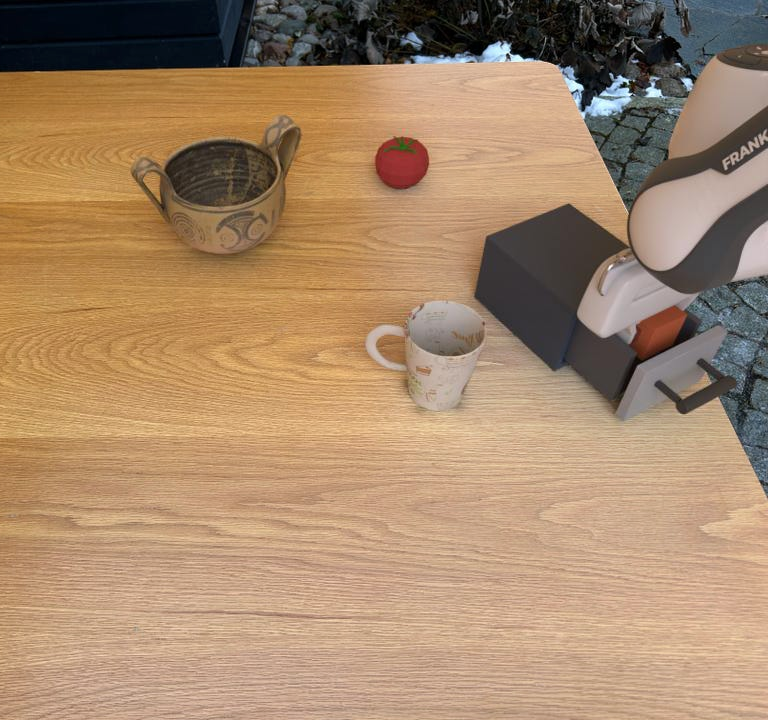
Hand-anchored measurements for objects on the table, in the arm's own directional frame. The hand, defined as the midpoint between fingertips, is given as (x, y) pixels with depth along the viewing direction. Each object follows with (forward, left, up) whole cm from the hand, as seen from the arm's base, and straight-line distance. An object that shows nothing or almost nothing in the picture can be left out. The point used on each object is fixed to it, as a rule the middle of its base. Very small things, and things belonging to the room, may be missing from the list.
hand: (646, 329), depth 78 cm
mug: (+21, +11, -8) cm, 25 cm away
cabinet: (+10, -7, -8) cm, 14 cm away
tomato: (+37, -26, -8) cm, 46 cm away
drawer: (0, 0, -7) cm, 7 cm away
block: (0, 0, -2) cm, 2 cm away
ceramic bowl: (+54, -4, -8) cm, 54 cm away
